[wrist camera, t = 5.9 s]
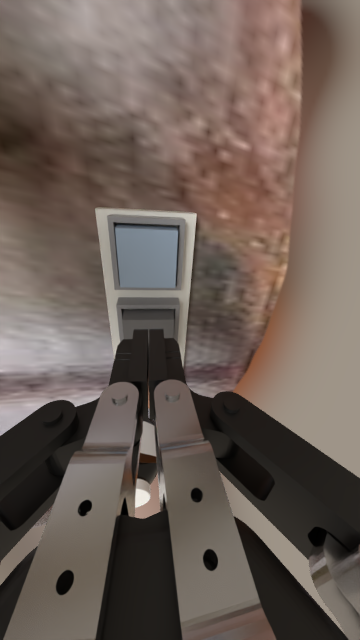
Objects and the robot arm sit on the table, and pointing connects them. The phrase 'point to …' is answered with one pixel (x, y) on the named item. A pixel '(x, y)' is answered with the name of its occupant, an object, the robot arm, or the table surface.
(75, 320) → the table surface
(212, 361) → the table surface
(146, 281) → the slate key
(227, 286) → the table surface
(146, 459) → the spread jar
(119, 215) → the key panel
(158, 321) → the charcoal key
